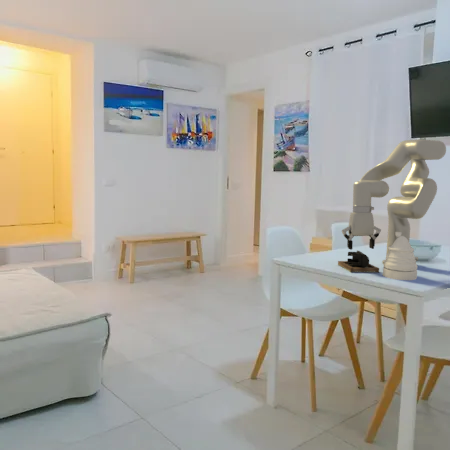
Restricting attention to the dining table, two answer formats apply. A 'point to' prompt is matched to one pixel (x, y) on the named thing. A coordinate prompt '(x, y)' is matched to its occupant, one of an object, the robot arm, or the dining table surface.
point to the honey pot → (400, 260)
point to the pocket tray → (367, 269)
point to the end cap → (358, 260)
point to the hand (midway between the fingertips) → (360, 248)
